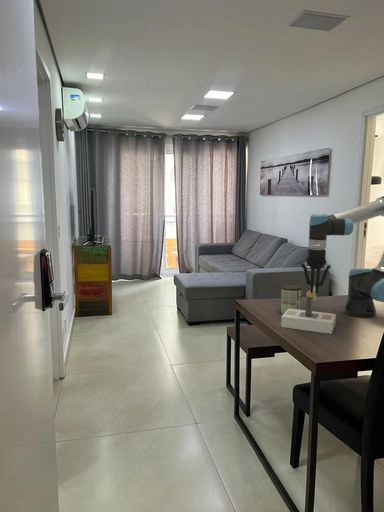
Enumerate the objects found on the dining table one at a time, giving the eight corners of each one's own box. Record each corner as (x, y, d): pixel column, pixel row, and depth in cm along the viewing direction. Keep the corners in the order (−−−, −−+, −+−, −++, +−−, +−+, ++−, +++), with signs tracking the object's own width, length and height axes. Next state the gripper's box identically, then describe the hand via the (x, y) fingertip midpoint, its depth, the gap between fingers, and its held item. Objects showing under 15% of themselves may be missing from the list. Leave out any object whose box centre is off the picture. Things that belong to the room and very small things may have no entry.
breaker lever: (312, 313, 179) (314, 291, 177) (310, 316, 174) (312, 293, 172) (307, 312, 180) (308, 290, 178) (304, 315, 175) (306, 293, 173)
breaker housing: (335, 324, 179) (335, 313, 178) (331, 333, 167) (331, 322, 166) (288, 318, 189) (288, 308, 188) (281, 326, 176) (281, 316, 176)
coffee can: (279, 309, 204) (279, 283, 201) (299, 309, 203) (299, 283, 200) (281, 315, 193) (282, 288, 191) (302, 315, 192) (303, 288, 190)
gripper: (301, 248, 170) (298, 300, 174) (330, 250, 165) (327, 303, 169) (304, 246, 177) (301, 296, 181) (332, 248, 172) (329, 299, 175)
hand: (314, 299), depth 175 cm, fingers closed
